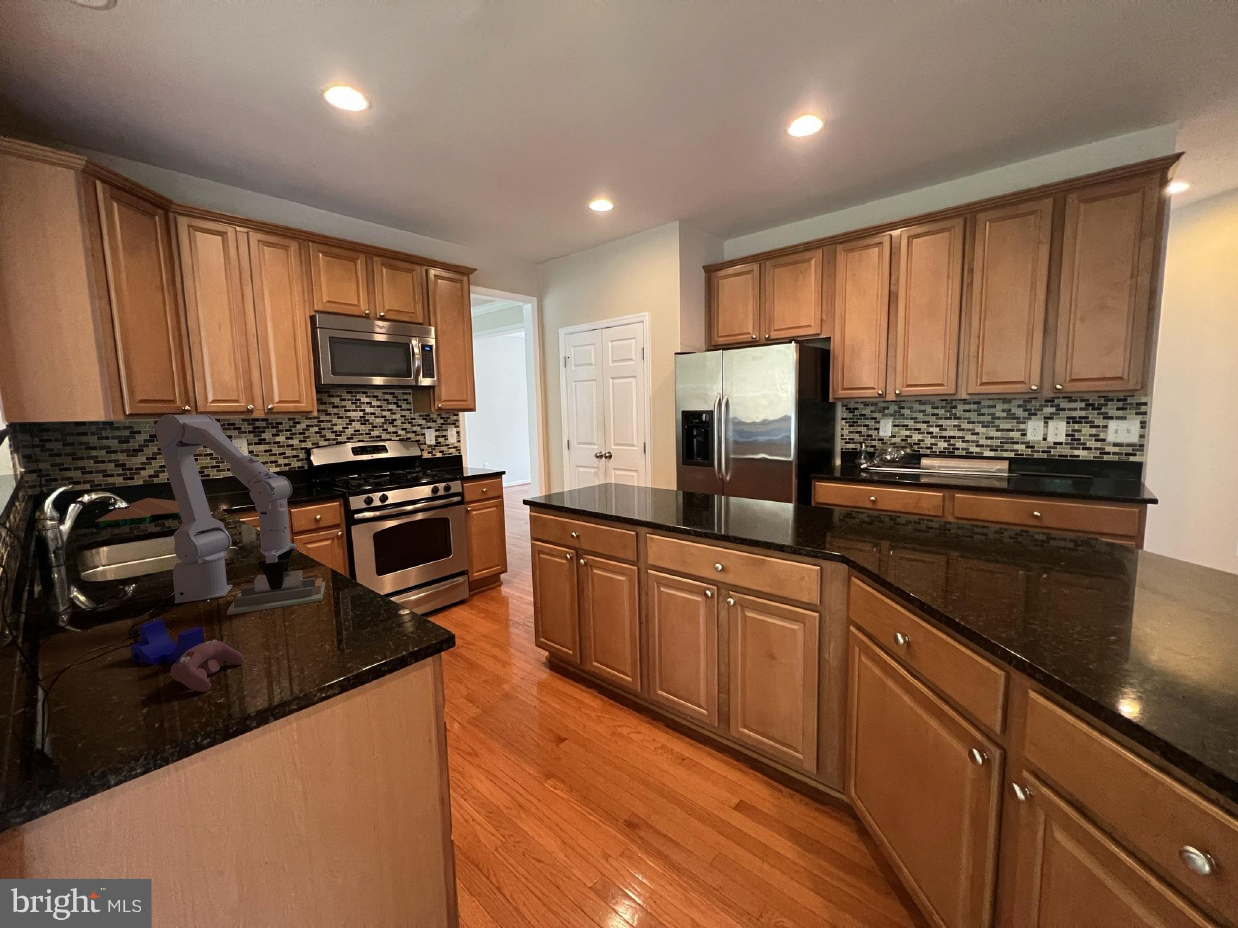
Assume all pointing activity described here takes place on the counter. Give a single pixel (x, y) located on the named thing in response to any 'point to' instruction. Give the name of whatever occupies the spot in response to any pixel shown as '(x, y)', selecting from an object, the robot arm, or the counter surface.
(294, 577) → the block
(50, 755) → the counter surface
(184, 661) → the video game controller
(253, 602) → the drive tray
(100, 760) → the counter surface
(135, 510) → the house
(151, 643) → the cable clip
